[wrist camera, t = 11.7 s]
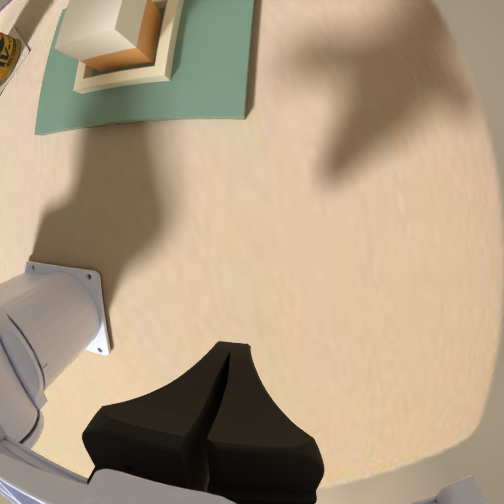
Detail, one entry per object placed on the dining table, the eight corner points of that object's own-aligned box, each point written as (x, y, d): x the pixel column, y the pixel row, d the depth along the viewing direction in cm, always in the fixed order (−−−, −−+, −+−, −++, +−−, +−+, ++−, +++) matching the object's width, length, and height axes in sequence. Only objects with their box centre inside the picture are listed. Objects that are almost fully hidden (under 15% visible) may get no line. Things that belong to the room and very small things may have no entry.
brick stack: (101, 72, 17) (54, 48, 11) (111, 25, 16) (71, -6, 10) (153, 62, 17) (114, 29, 11) (162, 14, 15) (131, -26, 10)
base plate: (41, 135, 19) (25, 133, 17) (68, 13, 16) (56, 5, 14) (245, 119, 18) (241, 112, 16) (256, -22, 15) (255, -37, 13)
